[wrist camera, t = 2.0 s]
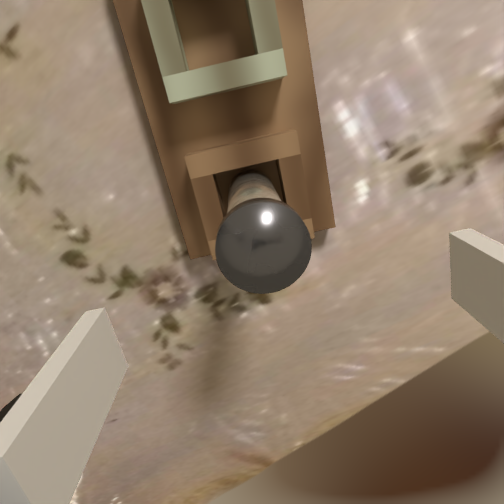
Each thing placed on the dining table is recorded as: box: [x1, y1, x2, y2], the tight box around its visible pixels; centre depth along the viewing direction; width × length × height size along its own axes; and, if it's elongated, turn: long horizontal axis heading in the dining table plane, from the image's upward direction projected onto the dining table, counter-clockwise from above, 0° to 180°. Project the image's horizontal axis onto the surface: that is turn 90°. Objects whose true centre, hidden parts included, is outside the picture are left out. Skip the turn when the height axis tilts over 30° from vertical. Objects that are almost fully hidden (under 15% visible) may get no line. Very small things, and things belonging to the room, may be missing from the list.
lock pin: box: [215, 169, 312, 294], centre depth 27 cm, size 5×5×15 cm
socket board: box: [113, 0, 335, 260], centre depth 31 cm, size 14×24×5 cm, turn 12°
